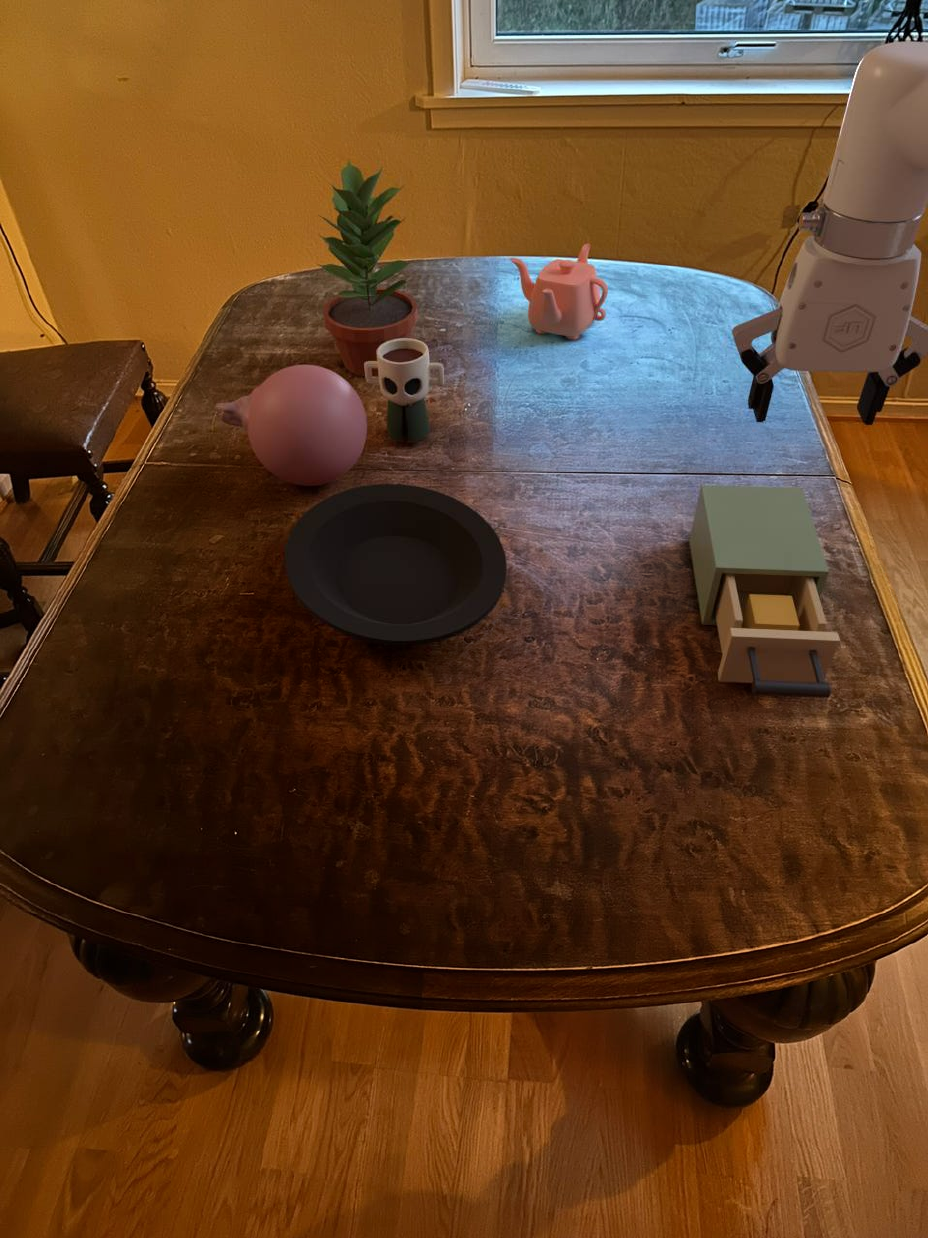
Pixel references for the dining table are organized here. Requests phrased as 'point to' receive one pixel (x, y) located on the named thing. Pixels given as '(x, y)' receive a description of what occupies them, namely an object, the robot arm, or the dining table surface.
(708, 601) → the cabinet
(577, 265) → the teapot
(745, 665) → the drawer
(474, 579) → the plate
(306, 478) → the balloon
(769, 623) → the block
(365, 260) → the potted plant
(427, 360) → the character mug
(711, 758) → the dining table surface
